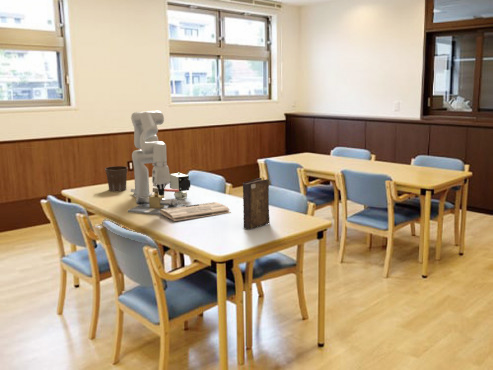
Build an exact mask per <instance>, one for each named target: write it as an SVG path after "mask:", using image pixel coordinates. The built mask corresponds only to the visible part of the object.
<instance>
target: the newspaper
mask: <svg viewBox="0 0 493 370" xmlns="http://www.w3.org/2000/svg"><path fill="white" fill-rule="evenodd" d="M160 213H162V214H163V215H162V216H165V217H166V218H168V219H170V220H171V221H174V222H177V221H184V220H192V219H197V218H198V219H199V218H202V217H203V218H205V217H210V216H218V215H223V214H230V213H231V211H230V208H229V207H228V206H226V205H224V204H223V203H220V202H216V201H214V202H207V203H199V204H191V205H185V206H182V207H174V208H167V209H160Z"/></svg>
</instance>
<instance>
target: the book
mask: <svg viewBox="0 0 493 370" xmlns="http://www.w3.org/2000/svg"><path fill="white" fill-rule="evenodd" d="M269 187H270V178H266V179H263V177H258V178H256V179H251V180H249V181H248V180H247V181H244V182H243V183H242V199H243V203H242V206H243V218H242V219H243V229H247V230H254V229H256V228H259V227H262V226H266V225H265V224H267V225H269V224H270V203H269V200H270V199H269V198H270V197H269V196H270V195H269V192H270V190H269ZM268 223H269V224H268Z"/></svg>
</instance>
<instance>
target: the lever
mask: <svg viewBox="0 0 493 370" xmlns="http://www.w3.org/2000/svg"><path fill="white" fill-rule="evenodd" d="M154 192H158V188H157V187H152V193H154ZM164 192H171V193H175V192H179V189H171V188H164ZM158 193H159V192H158Z"/></svg>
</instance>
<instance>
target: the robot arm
mask: <svg viewBox="0 0 493 370" xmlns="http://www.w3.org/2000/svg"><path fill="white" fill-rule="evenodd" d="M130 119H131V123H132V126H133V130H134V132H133V134H134V136H133V140H134V141H133V142H134V143H133V144H134V146H135V148H136V150H133V152H132V153H131V159H132V165H133V174H134V175H133V177H134V188H130V193H133V194H132V196H133V197H134V198H137V196H142V197H147V198H149V196H152V195H153V194H152V193H153V192H151V191H150V179H149V168H148V167H147V166H146V164H151V165H152V166H153V167H152V170H151V171H152V173H151V180H152V181H151V182H152V187H154V188H156V187H157V188H158V194H159V195H161V196H163V195H164V196H165V191H164V189H166V186H167V185H170V183H169V182H170V174H171V173H170V168H169V166H168V163H167V160H168V158H167V144H166V143H165V142H164V141H162V140H159V137H158V135H157V134H158V132H159V127H158V125H163V124H164V122H165V117H164V114H163V112H162V111H160V110H148V111H136V112H132V114H131V117H130Z"/></svg>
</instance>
